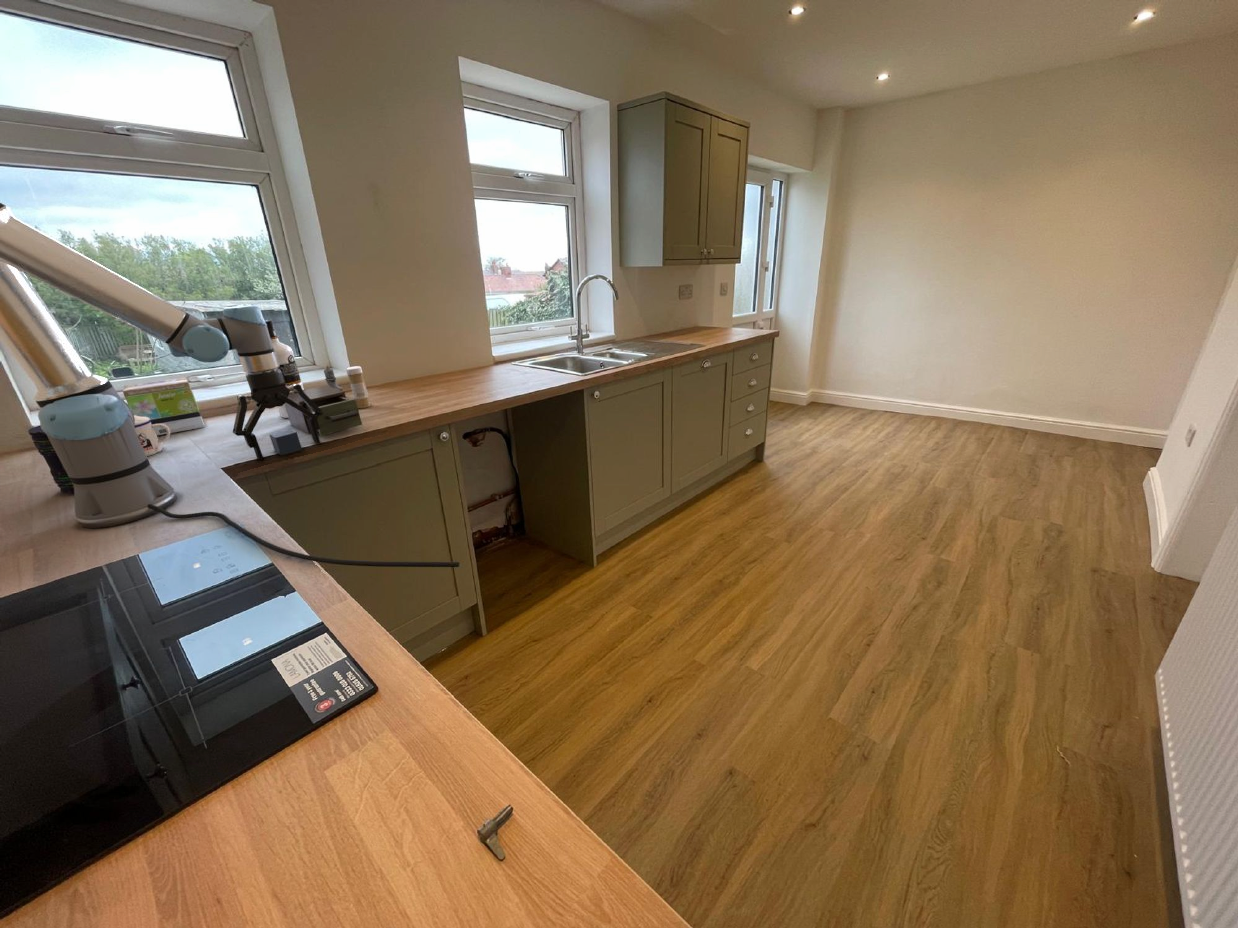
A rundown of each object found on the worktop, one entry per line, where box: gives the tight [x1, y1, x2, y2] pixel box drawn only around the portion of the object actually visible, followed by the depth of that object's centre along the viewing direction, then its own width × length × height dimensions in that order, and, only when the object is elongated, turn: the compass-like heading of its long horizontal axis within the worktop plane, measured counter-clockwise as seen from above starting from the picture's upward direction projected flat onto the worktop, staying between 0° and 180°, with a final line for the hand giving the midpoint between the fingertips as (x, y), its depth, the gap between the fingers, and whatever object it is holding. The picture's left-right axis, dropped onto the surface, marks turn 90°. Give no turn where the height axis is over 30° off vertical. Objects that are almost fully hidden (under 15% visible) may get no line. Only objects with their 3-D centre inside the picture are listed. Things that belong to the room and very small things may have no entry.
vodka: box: [265, 319, 305, 419], centre depth 158 cm, size 9×9×30 cm
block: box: [269, 428, 303, 457], centre depth 132 cm, size 5×5×5 cm
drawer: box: [303, 396, 363, 437], centre depth 145 cm, size 18×11×8 cm, turn 49°
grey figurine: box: [323, 365, 343, 391], centre depth 179 cm, size 6×6×12 cm
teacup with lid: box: [134, 415, 171, 457], centre depth 134 cm, size 12×9×12 cm
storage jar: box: [27, 425, 74, 496], centre depth 114 cm, size 10×10×15 cm
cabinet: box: [284, 384, 347, 435], centre depth 152 cm, size 15×13×10 cm
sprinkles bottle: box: [345, 365, 371, 409], centre depth 167 cm, size 5×5×14 cm
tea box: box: [122, 376, 205, 436], centre depth 152 cm, size 15×10×15 cm, turn 131°
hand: (289, 450), depth 133 cm, fingers open, 13 cm apart
